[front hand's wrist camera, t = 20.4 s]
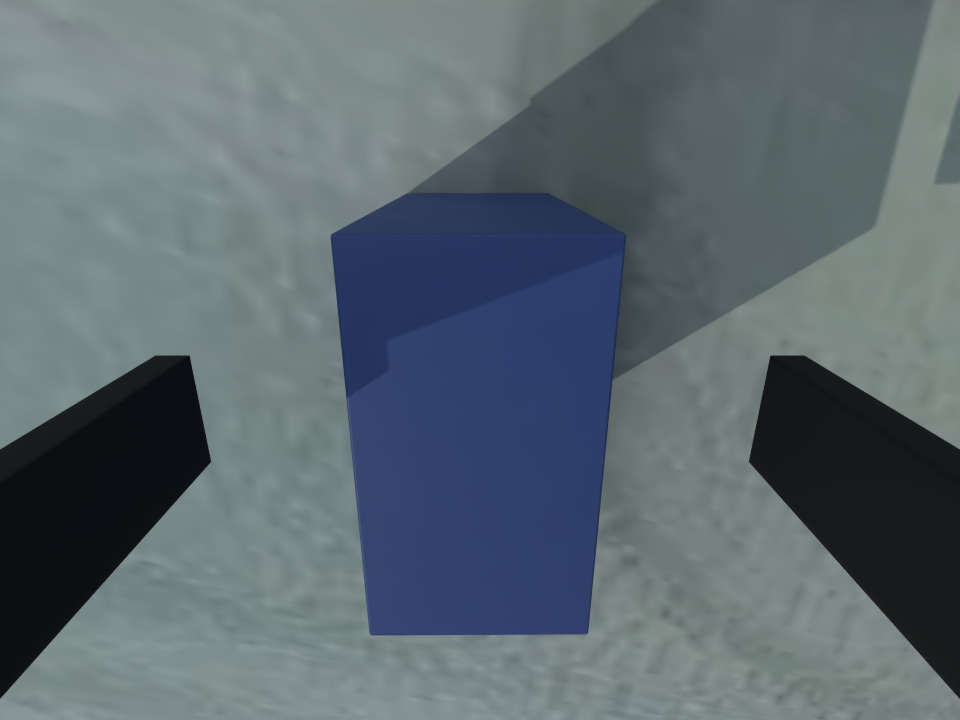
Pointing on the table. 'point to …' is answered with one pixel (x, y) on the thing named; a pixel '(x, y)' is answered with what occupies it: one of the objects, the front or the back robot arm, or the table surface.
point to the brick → (478, 408)
